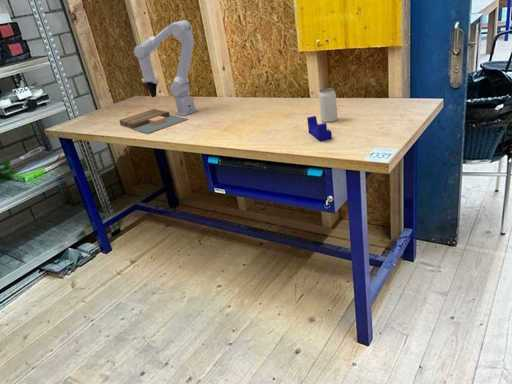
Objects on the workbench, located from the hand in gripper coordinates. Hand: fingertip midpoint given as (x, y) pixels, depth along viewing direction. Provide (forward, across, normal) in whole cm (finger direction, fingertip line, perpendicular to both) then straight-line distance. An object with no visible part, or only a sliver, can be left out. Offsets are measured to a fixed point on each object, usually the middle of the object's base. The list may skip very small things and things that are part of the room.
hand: (154, 96), depth 218 cm
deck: (+9, +4, -10) cm, 14 cm away
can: (+10, +95, +25) cm, 99 cm away
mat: (+9, +20, -10) cm, 24 cm away
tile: (+9, +16, -9) cm, 21 cm away
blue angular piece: (+10, +104, +10) cm, 105 cm away
